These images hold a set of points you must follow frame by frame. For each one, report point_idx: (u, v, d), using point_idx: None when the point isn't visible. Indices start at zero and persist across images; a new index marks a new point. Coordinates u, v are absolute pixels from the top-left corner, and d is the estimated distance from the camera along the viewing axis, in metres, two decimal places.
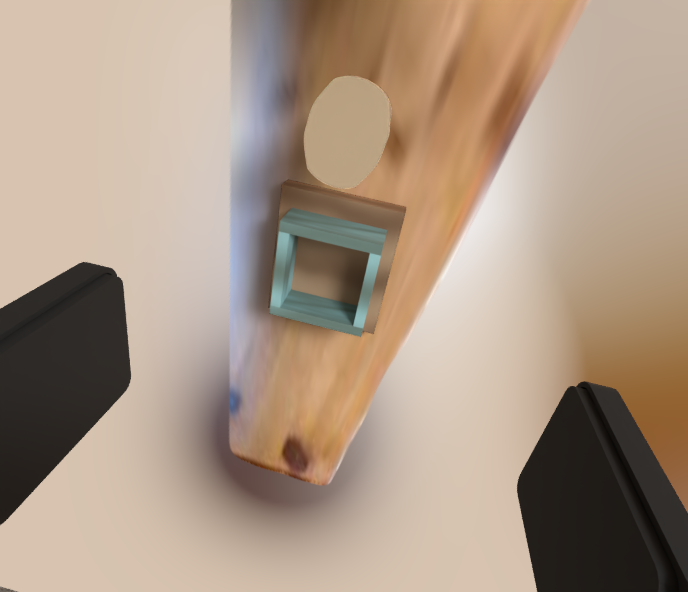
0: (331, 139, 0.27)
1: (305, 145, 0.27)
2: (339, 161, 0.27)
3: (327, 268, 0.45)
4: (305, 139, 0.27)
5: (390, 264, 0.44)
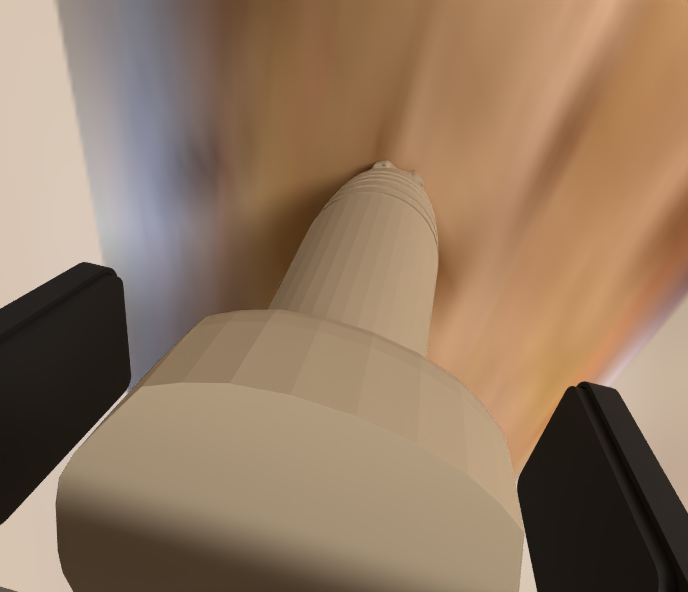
0: None
1: None
2: None
3: None
4: (73, 580, 0.05)
5: None
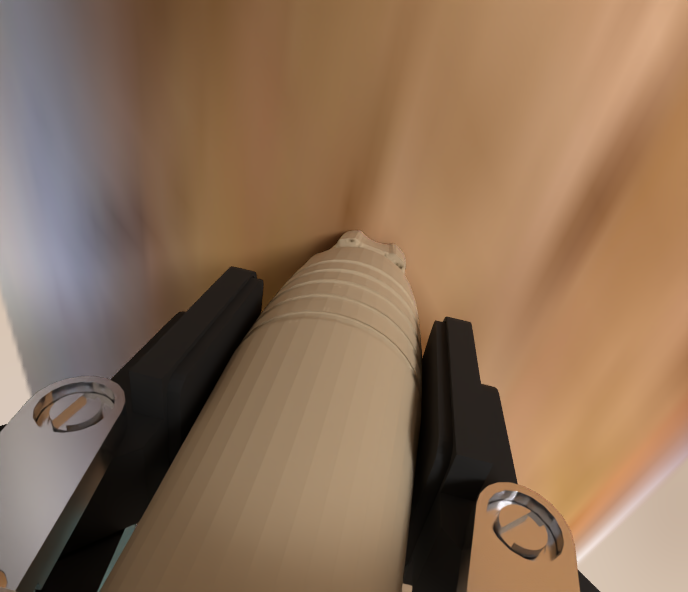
0: None
1: None
2: None
3: None
4: None
5: None
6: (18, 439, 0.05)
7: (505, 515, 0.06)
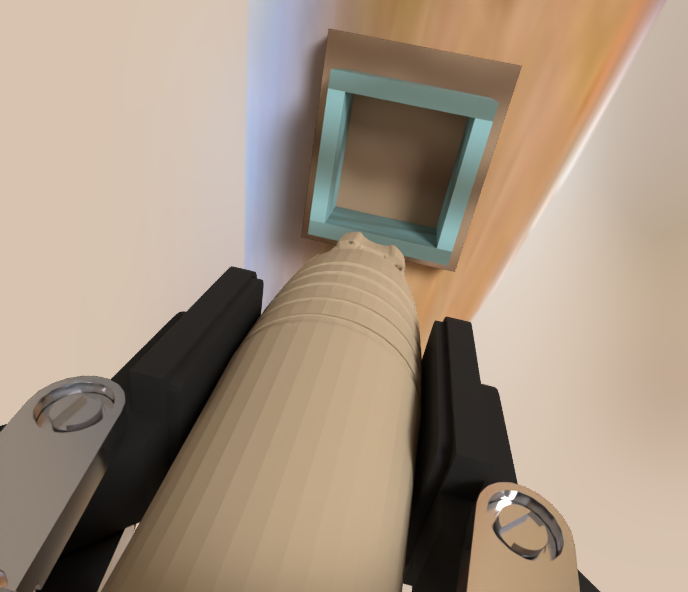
0: None
1: None
2: None
3: (391, 169, 0.31)
4: None
5: (490, 156, 0.29)
6: (18, 439, 0.05)
7: (505, 515, 0.06)
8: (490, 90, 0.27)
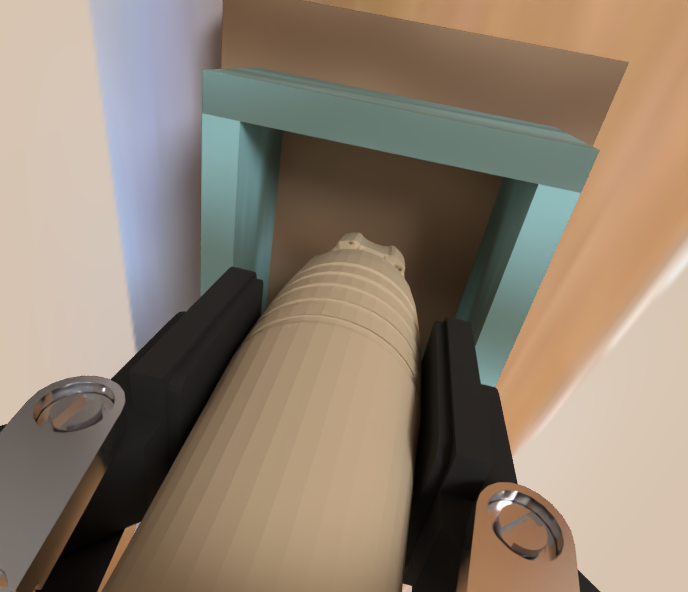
0: None
1: None
2: None
3: None
4: None
5: None
6: (18, 439, 0.05)
7: (505, 515, 0.06)
8: (557, 113, 0.13)
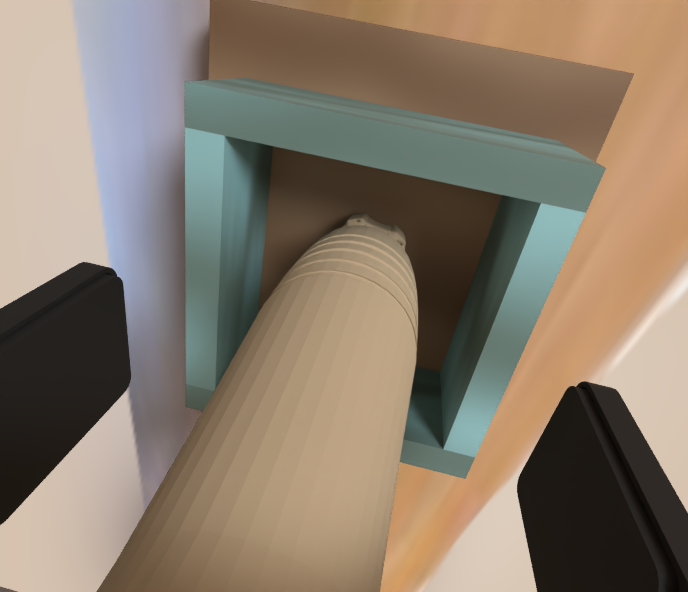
0: None
1: None
2: None
3: None
4: None
5: None
6: None
7: None
8: (559, 126, 0.13)
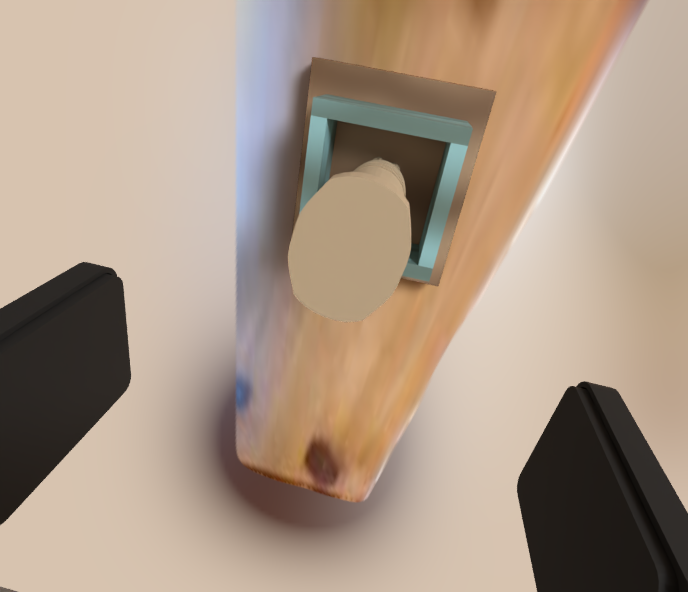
0: (327, 259, 0.19)
1: (290, 266, 0.19)
2: (339, 288, 0.19)
3: None
4: (290, 258, 0.19)
5: (468, 176, 0.30)
6: None
7: None
8: (467, 114, 0.29)
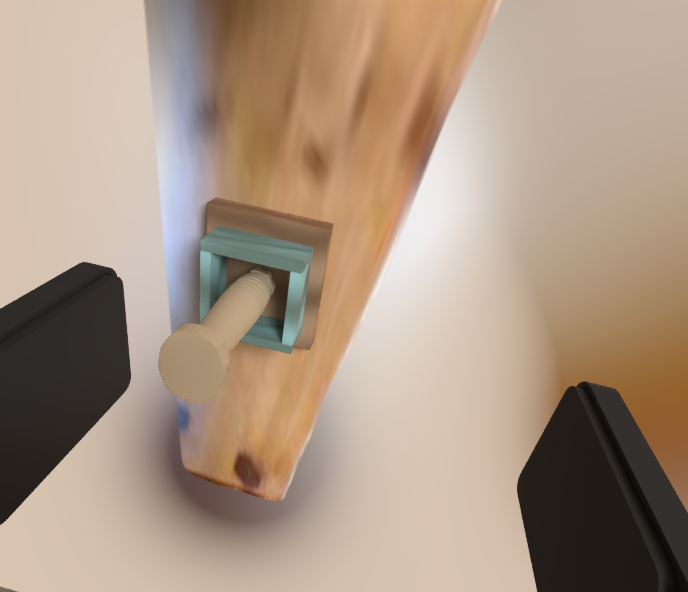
0: (180, 370, 0.32)
1: (161, 372, 0.33)
2: (189, 385, 0.33)
3: None
4: (160, 368, 0.32)
5: (319, 281, 0.44)
6: None
7: None
8: (312, 243, 0.42)
